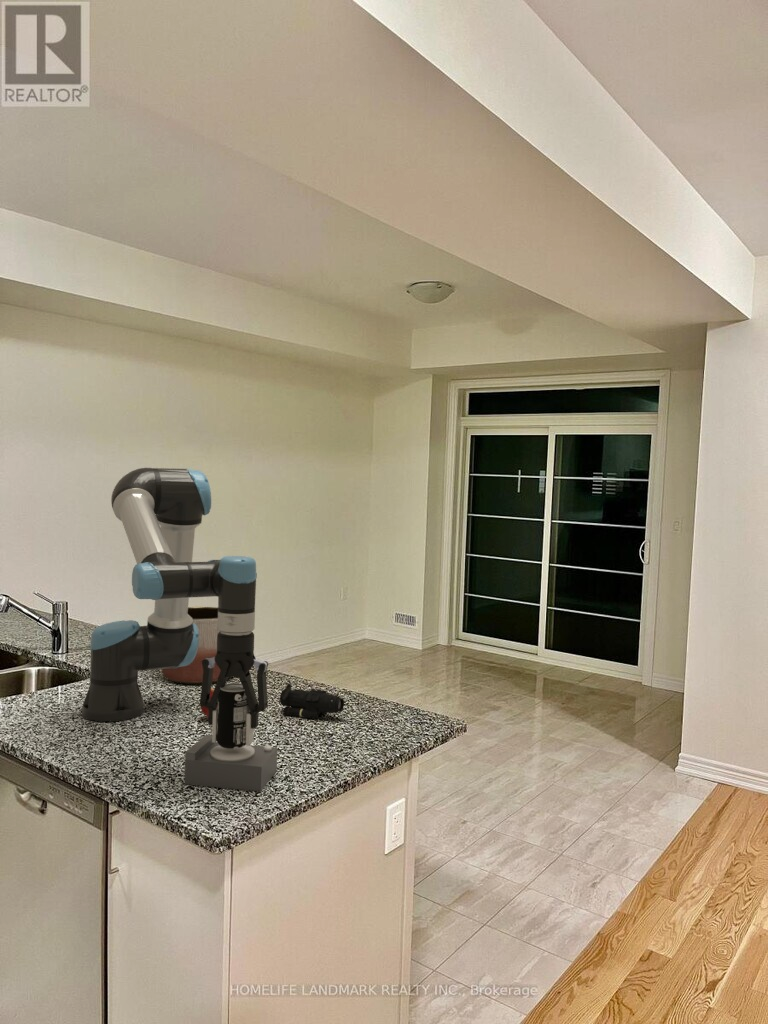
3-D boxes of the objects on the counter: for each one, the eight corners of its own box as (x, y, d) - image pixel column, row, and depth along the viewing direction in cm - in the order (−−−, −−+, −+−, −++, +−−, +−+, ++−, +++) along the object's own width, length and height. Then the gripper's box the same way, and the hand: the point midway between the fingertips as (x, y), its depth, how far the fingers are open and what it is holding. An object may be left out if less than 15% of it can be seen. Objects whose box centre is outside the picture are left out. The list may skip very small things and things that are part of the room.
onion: (227, 717, 195) (228, 686, 195) (215, 723, 190) (216, 692, 190) (208, 714, 197) (208, 684, 197) (195, 720, 192) (196, 689, 192)
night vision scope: (341, 729, 197) (329, 712, 189) (282, 720, 203) (267, 704, 196) (350, 701, 201) (338, 684, 194) (291, 693, 208) (277, 676, 201)
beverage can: (218, 738, 159) (220, 682, 159) (250, 738, 160) (251, 682, 159) (214, 749, 153) (216, 691, 152) (247, 749, 153) (248, 691, 153)
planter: (249, 675, 237) (251, 612, 237) (197, 690, 219) (199, 622, 218) (200, 664, 249) (201, 604, 248) (146, 677, 231) (148, 612, 230)
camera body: (184, 784, 152) (185, 752, 152) (205, 764, 163) (206, 734, 163) (260, 791, 150) (261, 759, 150) (276, 770, 161) (277, 740, 160)
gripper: (183, 632, 153) (180, 743, 154) (276, 638, 150) (272, 752, 151) (198, 625, 160) (195, 731, 161) (286, 631, 158) (283, 739, 158)
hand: (232, 741), depth 156 cm, fingers closed on beverage can, 6 cm apart
